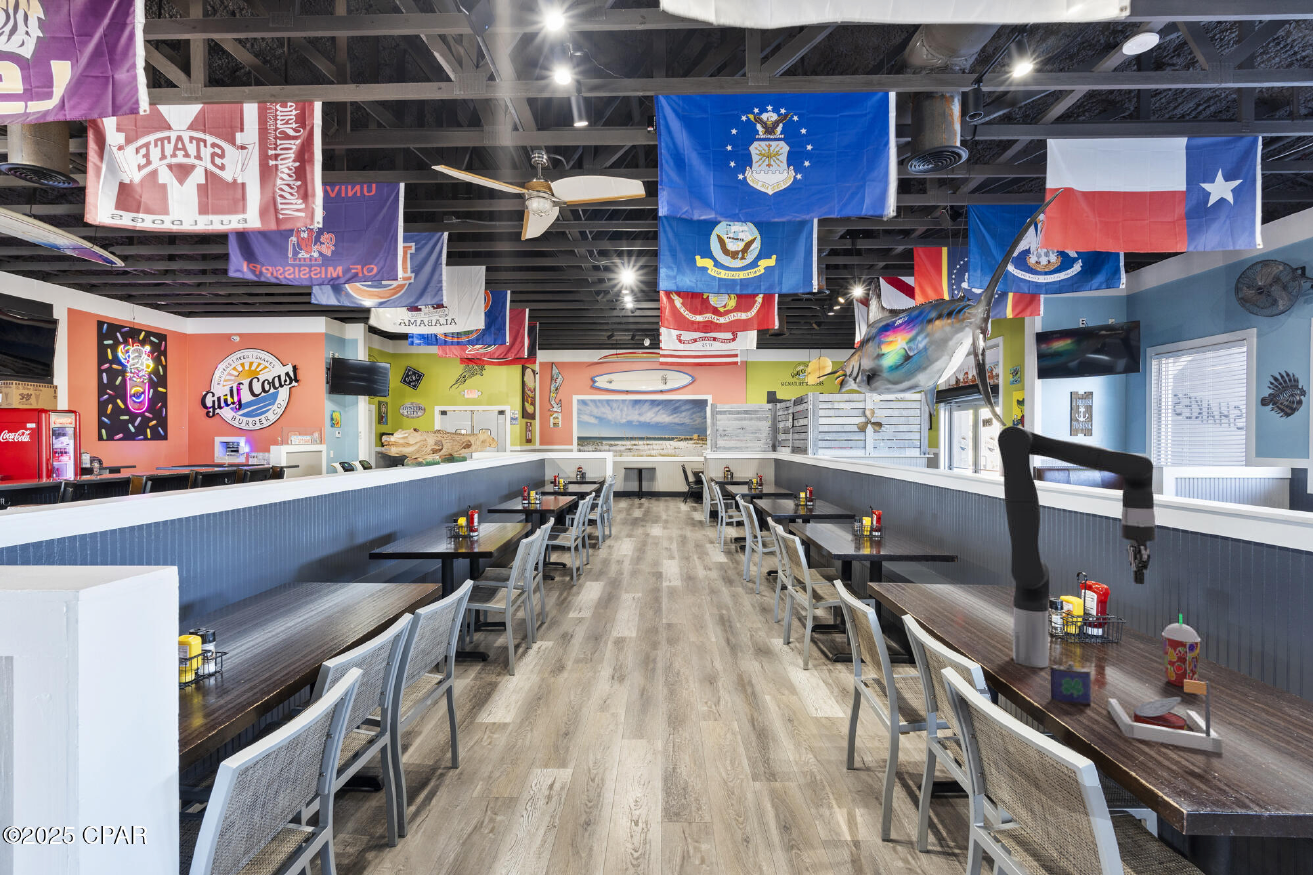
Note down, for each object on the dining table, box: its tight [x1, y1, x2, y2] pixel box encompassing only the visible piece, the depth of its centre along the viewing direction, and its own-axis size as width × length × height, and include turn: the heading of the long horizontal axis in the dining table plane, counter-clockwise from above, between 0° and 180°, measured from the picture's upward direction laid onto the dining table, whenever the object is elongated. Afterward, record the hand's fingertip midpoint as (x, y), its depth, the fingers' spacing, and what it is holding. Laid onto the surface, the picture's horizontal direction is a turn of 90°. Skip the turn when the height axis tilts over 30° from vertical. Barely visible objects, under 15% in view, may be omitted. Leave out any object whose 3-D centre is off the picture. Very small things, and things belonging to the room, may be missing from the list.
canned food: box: [1133, 696, 1188, 731], centre depth 142 cm, size 11×10×10 cm
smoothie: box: [1161, 613, 1202, 688], centre depth 170 cm, size 8×8×20 cm
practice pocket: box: [1107, 680, 1223, 754], centre depth 141 cm, size 17×16×15 cm
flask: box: [1049, 661, 1092, 706], centre depth 156 cm, size 9×3×11 cm, turn 74°
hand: (1138, 583), depth 169 cm, fingers closed
